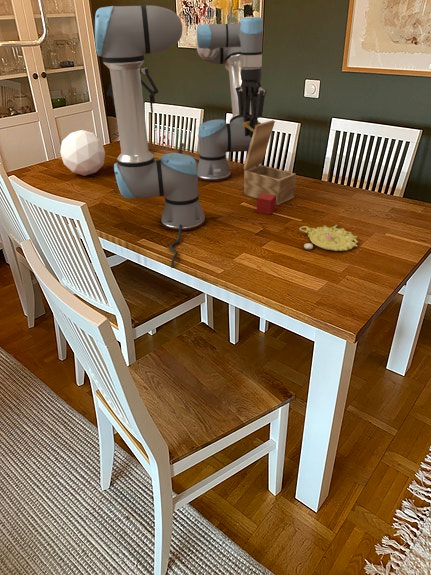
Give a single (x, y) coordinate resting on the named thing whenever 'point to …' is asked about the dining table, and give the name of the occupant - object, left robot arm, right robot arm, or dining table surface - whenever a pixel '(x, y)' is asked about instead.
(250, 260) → the dining table surface
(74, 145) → the sphere
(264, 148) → the lid
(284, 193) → the chest
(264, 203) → the block
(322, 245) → the decorative object
